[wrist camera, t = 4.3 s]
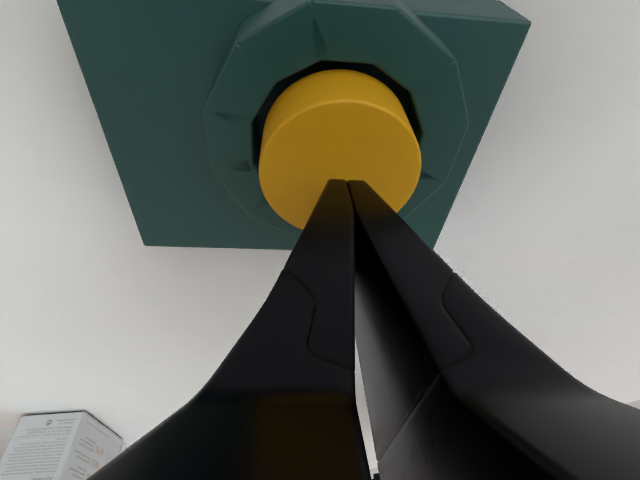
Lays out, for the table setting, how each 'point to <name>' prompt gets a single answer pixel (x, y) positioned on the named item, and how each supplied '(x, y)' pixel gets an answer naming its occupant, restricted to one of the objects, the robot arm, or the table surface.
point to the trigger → (336, 142)
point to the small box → (58, 448)
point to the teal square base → (266, 86)
